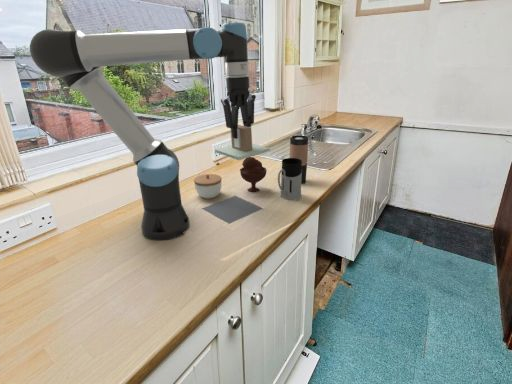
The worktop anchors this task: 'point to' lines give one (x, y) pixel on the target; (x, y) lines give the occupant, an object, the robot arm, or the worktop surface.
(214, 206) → the square tray
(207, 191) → the lidded jar
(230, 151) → the board
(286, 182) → the glass holder
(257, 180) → the ice cream bowl
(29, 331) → the worktop surface
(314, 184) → the worktop surface
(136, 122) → the robot arm
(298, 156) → the travel mug
